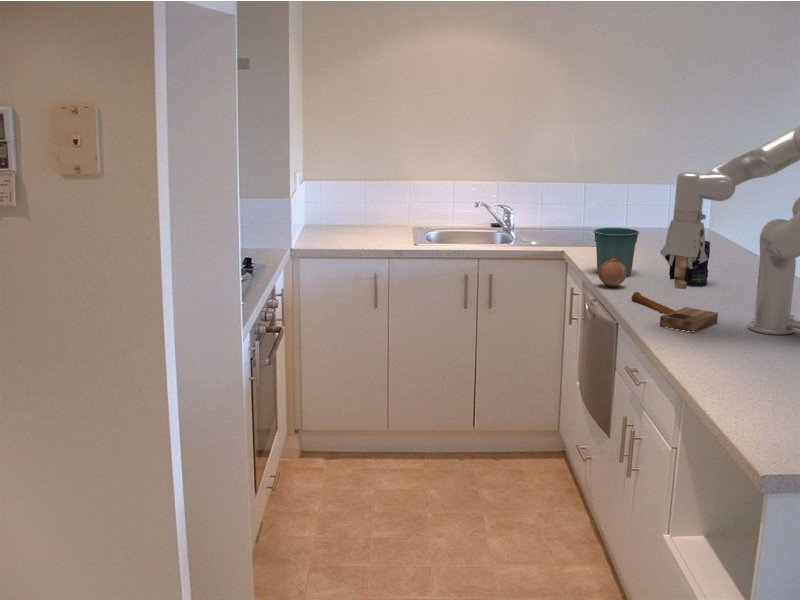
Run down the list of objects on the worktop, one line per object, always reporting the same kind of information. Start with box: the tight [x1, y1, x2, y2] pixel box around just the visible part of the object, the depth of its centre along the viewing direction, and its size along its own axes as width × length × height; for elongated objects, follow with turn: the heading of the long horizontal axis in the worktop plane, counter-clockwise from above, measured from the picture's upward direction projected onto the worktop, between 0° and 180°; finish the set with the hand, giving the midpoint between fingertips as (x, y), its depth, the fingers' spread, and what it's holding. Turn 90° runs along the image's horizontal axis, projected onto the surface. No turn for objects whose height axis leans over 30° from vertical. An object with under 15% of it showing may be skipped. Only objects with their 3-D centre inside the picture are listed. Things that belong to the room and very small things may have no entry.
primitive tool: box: [631, 291, 676, 315], centre depth 296 cm, size 19×6×4 cm, turn 25°
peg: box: [673, 256, 688, 290], centre depth 269 cm, size 4×4×10 cm
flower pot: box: [593, 227, 640, 277], centre depth 344 cm, size 16×16×16 cm
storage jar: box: [687, 240, 711, 288], centre depth 329 cm, size 10×10×15 cm
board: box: [659, 306, 719, 333], centre depth 275 cm, size 10×16×3 cm, turn 137°
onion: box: [597, 258, 627, 288], centre depth 324 cm, size 10×9×10 cm
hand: (681, 279), depth 270 cm, fingers closed on peg, 4 cm apart
